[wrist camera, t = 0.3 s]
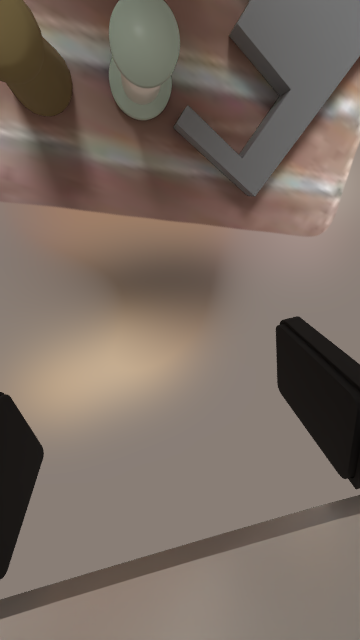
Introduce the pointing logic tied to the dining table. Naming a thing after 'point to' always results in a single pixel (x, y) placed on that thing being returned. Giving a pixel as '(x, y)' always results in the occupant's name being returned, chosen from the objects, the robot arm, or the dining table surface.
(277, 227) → the dining table surface
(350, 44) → the gray block
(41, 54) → the cork
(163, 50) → the bobbin post
